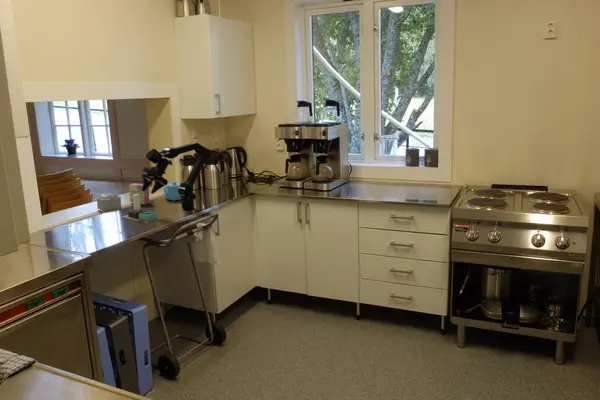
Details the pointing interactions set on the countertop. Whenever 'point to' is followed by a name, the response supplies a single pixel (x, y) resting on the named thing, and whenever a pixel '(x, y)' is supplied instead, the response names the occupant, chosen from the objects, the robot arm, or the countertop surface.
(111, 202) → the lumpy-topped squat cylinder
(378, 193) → the countertop surface
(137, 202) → the plug
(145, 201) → the box
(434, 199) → the countertop surface
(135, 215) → the panel board
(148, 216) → the port
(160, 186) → the robot arm
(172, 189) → the teapot
